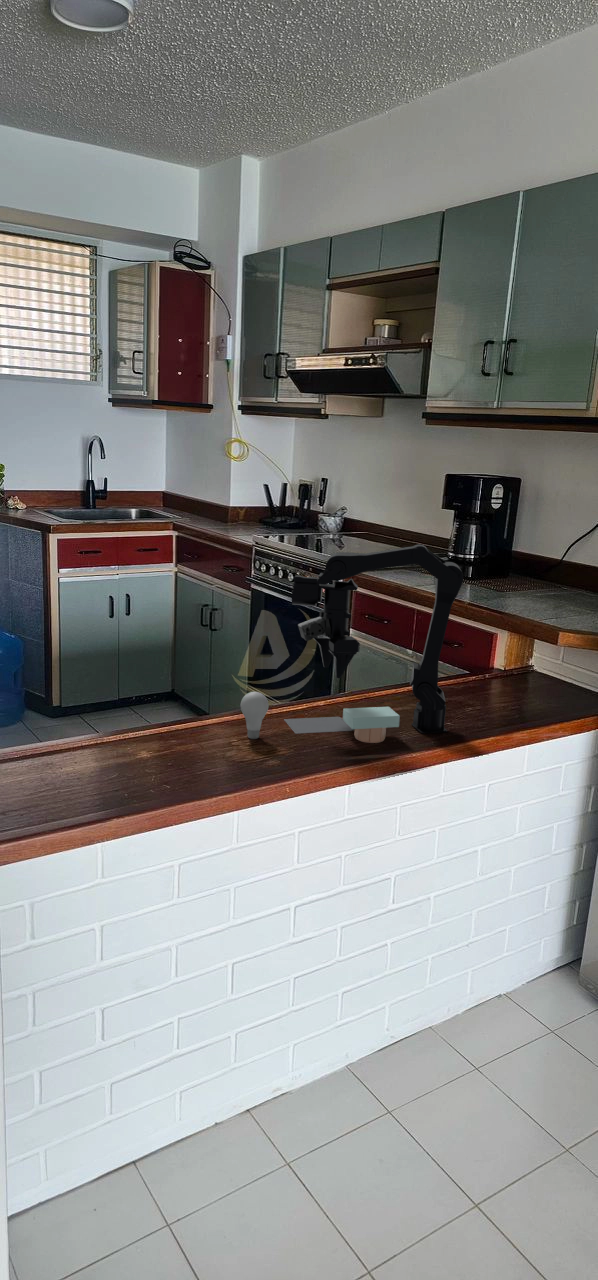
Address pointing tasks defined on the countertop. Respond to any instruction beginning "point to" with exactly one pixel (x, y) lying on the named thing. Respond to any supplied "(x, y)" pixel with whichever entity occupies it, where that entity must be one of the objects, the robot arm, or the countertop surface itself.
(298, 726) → the mat
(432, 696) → the robot arm
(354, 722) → the pale teal block
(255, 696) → the lightbulb
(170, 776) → the countertop surface
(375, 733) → the nut
